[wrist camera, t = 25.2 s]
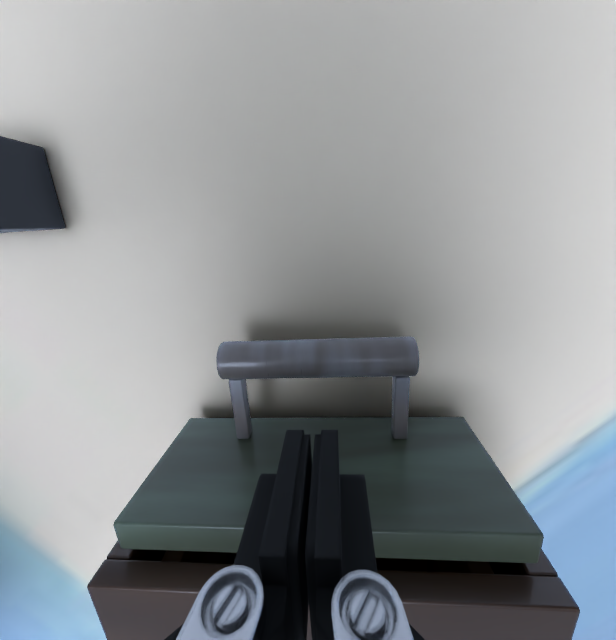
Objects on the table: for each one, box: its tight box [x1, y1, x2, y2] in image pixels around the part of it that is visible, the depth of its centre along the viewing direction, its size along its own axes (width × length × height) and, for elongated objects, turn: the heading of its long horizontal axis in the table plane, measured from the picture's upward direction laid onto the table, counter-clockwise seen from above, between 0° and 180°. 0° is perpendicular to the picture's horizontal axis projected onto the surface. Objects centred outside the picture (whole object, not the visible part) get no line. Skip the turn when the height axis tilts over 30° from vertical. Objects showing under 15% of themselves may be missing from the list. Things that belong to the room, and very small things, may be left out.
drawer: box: [114, 336, 544, 574], centre depth 14 cm, size 23×14×6 cm, turn 4°
